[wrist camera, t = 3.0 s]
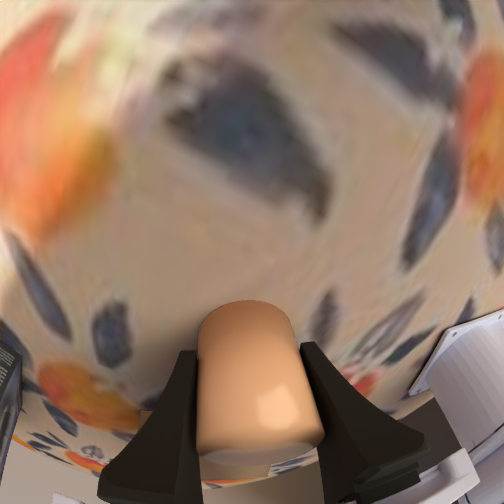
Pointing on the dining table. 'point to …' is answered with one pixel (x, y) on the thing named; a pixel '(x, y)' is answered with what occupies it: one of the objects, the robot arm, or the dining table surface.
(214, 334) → the peach domed cylinder
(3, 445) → the small box
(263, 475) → the tan square base block
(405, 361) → the dining table surface
